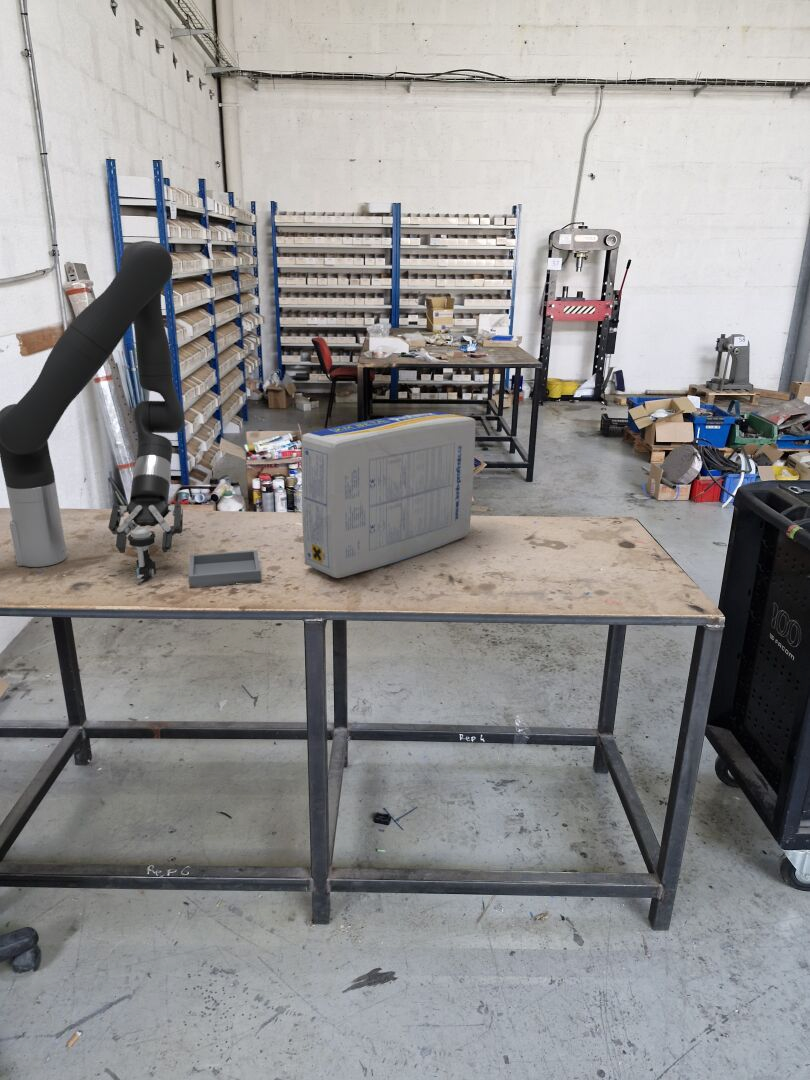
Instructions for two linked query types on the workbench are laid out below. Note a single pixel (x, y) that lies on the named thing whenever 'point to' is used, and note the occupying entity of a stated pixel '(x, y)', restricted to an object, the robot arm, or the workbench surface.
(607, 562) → the workbench surface
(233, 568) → the tray
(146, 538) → the push button
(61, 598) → the workbench surface
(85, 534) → the workbench surface
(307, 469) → the construction material bag
